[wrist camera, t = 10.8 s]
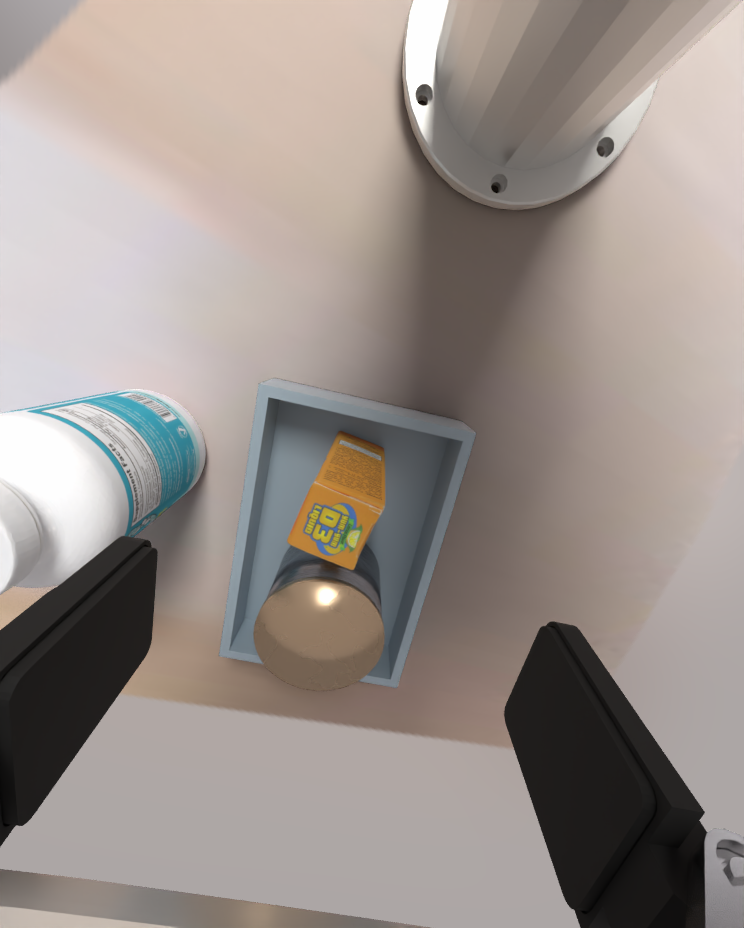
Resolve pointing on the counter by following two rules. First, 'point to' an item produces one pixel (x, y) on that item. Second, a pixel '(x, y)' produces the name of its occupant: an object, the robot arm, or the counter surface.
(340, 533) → the supplement box
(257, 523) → the tote
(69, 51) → the counter surface
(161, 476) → the pill bottle
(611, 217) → the counter surface
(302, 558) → the tin
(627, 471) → the counter surface
